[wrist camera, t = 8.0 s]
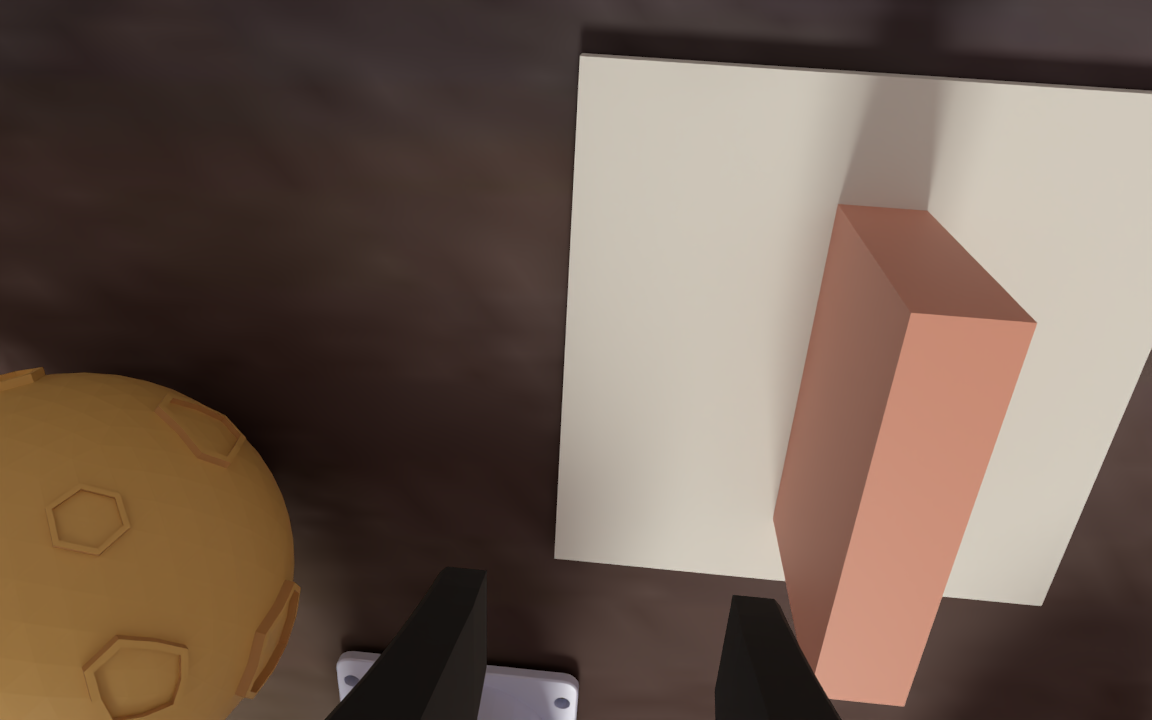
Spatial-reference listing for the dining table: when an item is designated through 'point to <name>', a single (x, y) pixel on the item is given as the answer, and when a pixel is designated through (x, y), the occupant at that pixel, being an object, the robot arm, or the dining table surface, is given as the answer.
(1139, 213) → the mat
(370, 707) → the robot arm
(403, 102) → the dining table surface
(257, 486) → the stress ball
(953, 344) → the slab
